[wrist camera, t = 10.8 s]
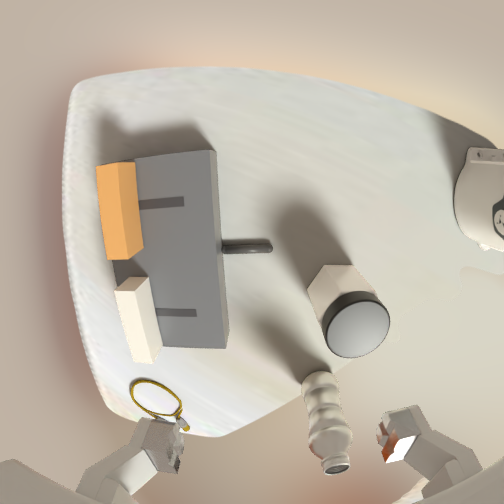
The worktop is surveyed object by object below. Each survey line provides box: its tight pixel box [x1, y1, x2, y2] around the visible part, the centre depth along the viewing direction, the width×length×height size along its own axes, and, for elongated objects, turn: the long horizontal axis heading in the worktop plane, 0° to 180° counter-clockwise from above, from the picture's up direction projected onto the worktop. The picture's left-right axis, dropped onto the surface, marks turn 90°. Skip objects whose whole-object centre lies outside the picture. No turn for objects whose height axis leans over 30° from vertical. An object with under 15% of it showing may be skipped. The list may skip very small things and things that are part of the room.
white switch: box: [114, 277, 163, 364], centre depth 35 cm, size 3×11×5 cm, turn 2°
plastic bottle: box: [301, 371, 353, 475], centre depth 36 cm, size 6×7×20 cm
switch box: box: [103, 149, 273, 349], centre depth 37 cm, size 23×27×5 cm
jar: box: [307, 265, 390, 358], centre depth 35 cm, size 9×8×12 cm
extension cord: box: [131, 380, 190, 431], centre depth 49 cm, size 12×16×2 cm
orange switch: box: [96, 162, 144, 260], centre depth 30 cm, size 3×11×5 cm, turn 2°
